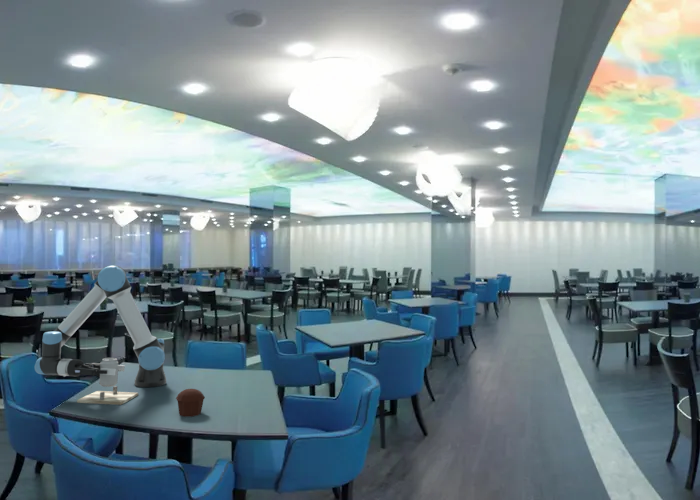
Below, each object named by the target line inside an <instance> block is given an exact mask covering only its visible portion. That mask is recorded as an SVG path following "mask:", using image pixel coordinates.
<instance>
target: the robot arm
mask: <svg viewBox="0 0 700 500" xmlns="http://www.w3.org/2000/svg"><path fill="white" fill-rule="evenodd" d="M131 289H132V286H131V283H130V281H129V280H128V277H127V273H126V271H125V270H124V269H123V268H122V267H121V266H119V265H108V266H106V267H103V268H102V269H101V270H100V271H99V272H98V275H97V280H96V281H95V282H94V286H93V287H92V289H91V290H89V292H88V293H87V294H86V295H85V296H84V298H82V299H81V301H80V302H79V303H78V304H77V305H76V307H74V308H73V310H72V311H71V312H70V313H69V314H68V315H67V317H65V318H64V319H63V321H62V322H61V323H60V324H59V325H58V326H57V327H56V328H55V329H54V330H53V331H45V332H44V333H43V335H42V340H41V341H42V345H41V346H42V347H41V357H39V358H38V359H37V360H36V361H35V364H34V371H35V372H36V373H37V374H39V375H44V376H62V377H63V378H65V377H79V376H81V375H83V376H84V375H86V376H96V377H100V375H115V371H116V369H107V368H101V370H100V363H101V362H100V363H97V362H91V363H89V362H88V363H87V362H86V363H84V361H83V360H82V359H78V358H77V359H72V358H61V355H62V354H61V353H62V348H63V346H64V345H66V343H67V342H68V340H69V339H70V338H72V336H73V335H74V334H75V333H76V331H77V330H79V328H81V326H82V325H83V324H84V323H85V322H86V320H87V319H88V318H89V317H90V316H91V315H92V314H93V313H94V312H95V310H96V309H98V307H99V306H100V305H101V304H102V303H103V302H104V300H106V298H107V299H110V300H111V301H112V302H113V304H114V307H115V308H116V310H117V312H118V315H119V316H120V319H121V320H122V321H123V324H124V326H125V327H126V330H127V332H128V334H129V336H130V337H131V340H132V342H133V344H134V345H133V347H132V348H133V351H134V353H135V356H136V357H137V359H138V371H137V374H136V375H135V379H134V386H135V387H140V388H155V387H161V386H164V385H165V384H167V376H166V374H165V371H164V370H165V369H164V362H165V359H166V354H165V339H164V338H158V337H157V336H154V335H152V333H151V331H150V329H149V327H148V325H147V323H146V321H145V319H144V317H143V315H142V313H141V311H140V309H139V307H138V305H137V304H136V301H135V298H134V296H133V295H132V293H131ZM125 367H126V365H125V364H124V365H123V364H118V372H125Z"/></svg>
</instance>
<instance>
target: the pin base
mask: <svg viewBox="0 0 700 500" xmlns="http://www.w3.org/2000/svg"><path fill="white" fill-rule="evenodd" d="M112 387H113V388H112V391H108V390H96V391H94V392H92V393H89V394H86V395H85V396H83V397H81V398H78V399H77V400H76V403H77V404H95V405H96V404H99V405H117V406H119V405H120V406H122V405H123V404H125V403H127V402H129V401H130V400H132V399H134V398H136V397H138V396H139V392H131V391H130V392H128V391H118V386H117V385H115V386H112Z"/></svg>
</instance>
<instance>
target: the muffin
mask: <svg viewBox="0 0 700 500" xmlns="http://www.w3.org/2000/svg"><path fill="white" fill-rule="evenodd" d="M175 400H176V401H177V407H178V408H177V409H178V414H179V416H180V417H185V418H186V417H188V418H190V417H191V418H192V417H196V416H199V415H201V414H202V411H203V404H204V400H205V396H204V393H203V392H202V391H200V390H198V389H197V388H186V389H185V388H184V389H183V390H182V391H180V392H179V393H178V394H177V395H176V398H175Z"/></svg>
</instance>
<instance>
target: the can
mask: <svg viewBox="0 0 700 500" xmlns="http://www.w3.org/2000/svg"><path fill="white" fill-rule="evenodd" d="M118 365H119V361H118V358H116V357H105V358H102V360H101V361H100V370H101V368H107V369H116V371H115V375H100V376H99V382H98V383H99V384H98V385H100V387H102V388H103V387H105V388H109V387H113V386H117V384H118V375H119V371H118Z"/></svg>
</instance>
